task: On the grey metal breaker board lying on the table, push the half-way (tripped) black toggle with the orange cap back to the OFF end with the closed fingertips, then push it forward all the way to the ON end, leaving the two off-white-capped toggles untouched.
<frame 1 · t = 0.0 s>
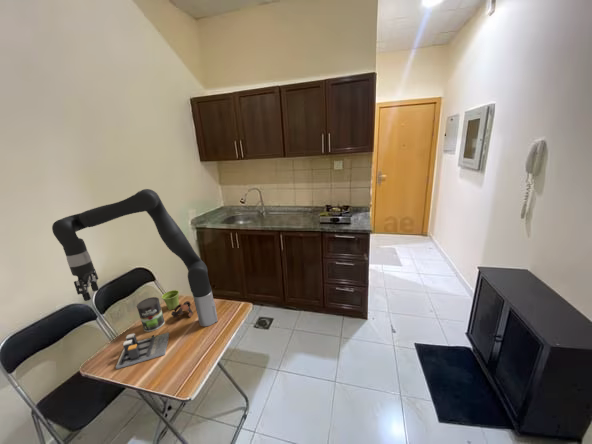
hand: (92, 295, 111), 29 cm above the table, fingers open, 8 cm apart
coffee can: (154, 325, 133), on the table
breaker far: (131, 340, 116), point 4 cm above the table, slide at 6.0 cm
breaker tripped: (133, 351, 109), point 4 cm above the table, slide at 3.0 cm
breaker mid: (129, 346, 112), point 4 cm above the table, slide at 6.0 cm
breaker panel: (145, 350, 115), on the table
plant pot: (173, 307, 148), on the table
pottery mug: (184, 315, 139), on the table
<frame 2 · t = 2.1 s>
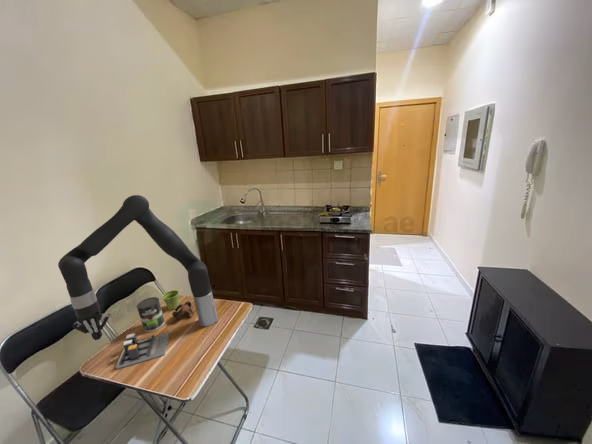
hand: (98, 338, 103), 15 cm above the table, fingers closed
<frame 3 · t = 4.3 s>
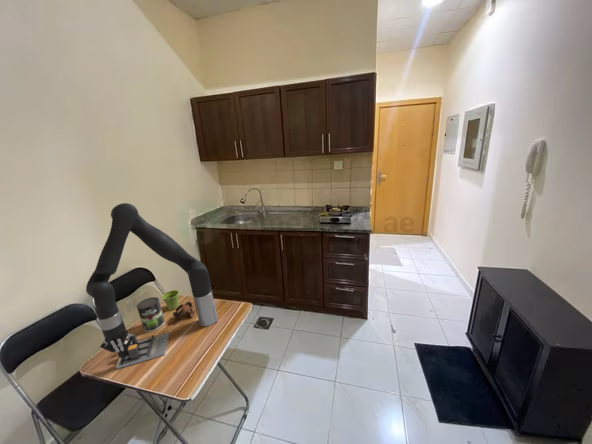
hand: (123, 356, 108), 3 cm above the table, fingers closed
breaker tripped: (133, 351, 109), point 4 cm above the table, slide at 3.0 cm, touching gripper
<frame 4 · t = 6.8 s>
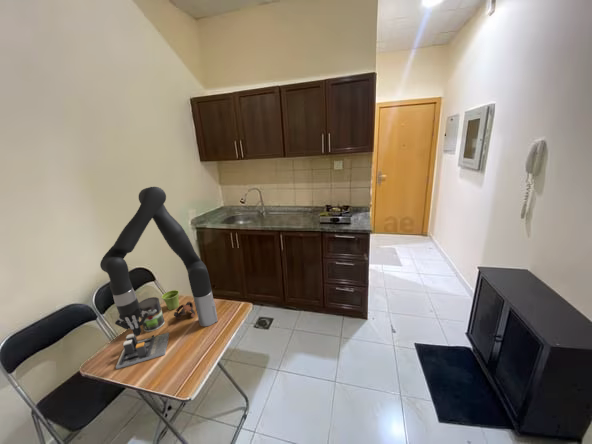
hand: (138, 334, 108), 12 cm above the table, fingers closed
breaker tripped: (141, 349, 110), point 4 cm above the table, slide at 0.0 cm
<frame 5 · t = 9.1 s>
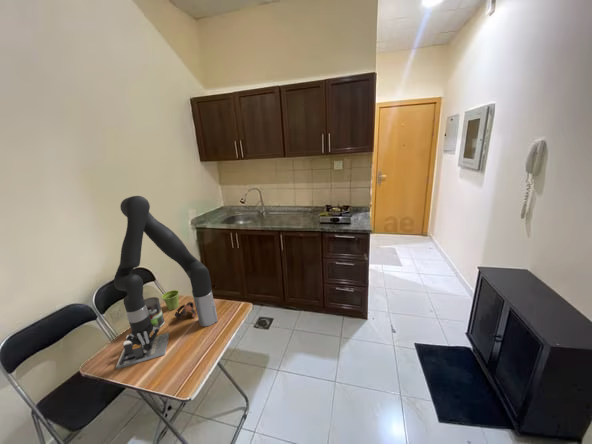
hand: (148, 349, 111), 4 cm above the table, fingers closed
breaker tripped: (138, 350, 109), point 4 cm above the table, slide at 1.2 cm, touching gripper
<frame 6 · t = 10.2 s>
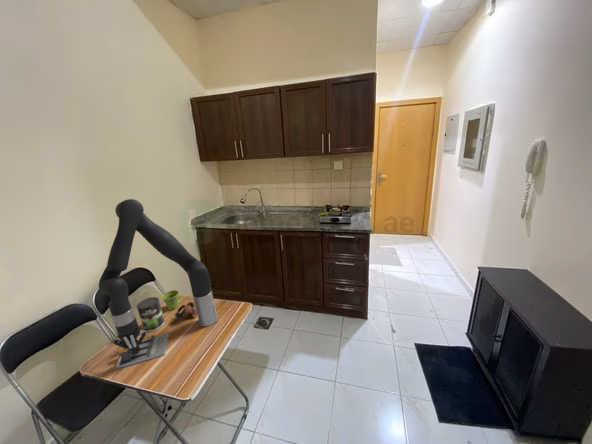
hand: (136, 352, 109), 4 cm above the table, fingers closed
breaker tripped: (125, 354, 108), point 4 cm above the table, slide at 6.1 cm, touching gripper
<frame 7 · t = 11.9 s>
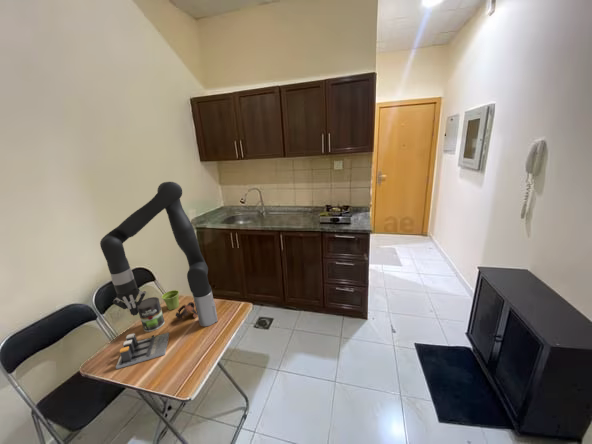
hand: (135, 314, 110), 20 cm above the table, fingers closed
breaker tripped: (126, 354, 108), point 4 cm above the table, slide at 6.0 cm
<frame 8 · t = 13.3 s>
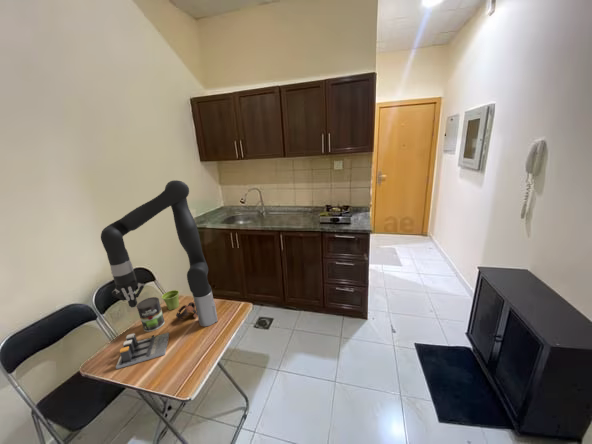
hand: (133, 306, 110), 23 cm above the table, fingers closed
at the end: breaker tripped slide at 6.0 cm; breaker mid slide at 6.0 cm; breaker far slide at 6.0 cm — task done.
